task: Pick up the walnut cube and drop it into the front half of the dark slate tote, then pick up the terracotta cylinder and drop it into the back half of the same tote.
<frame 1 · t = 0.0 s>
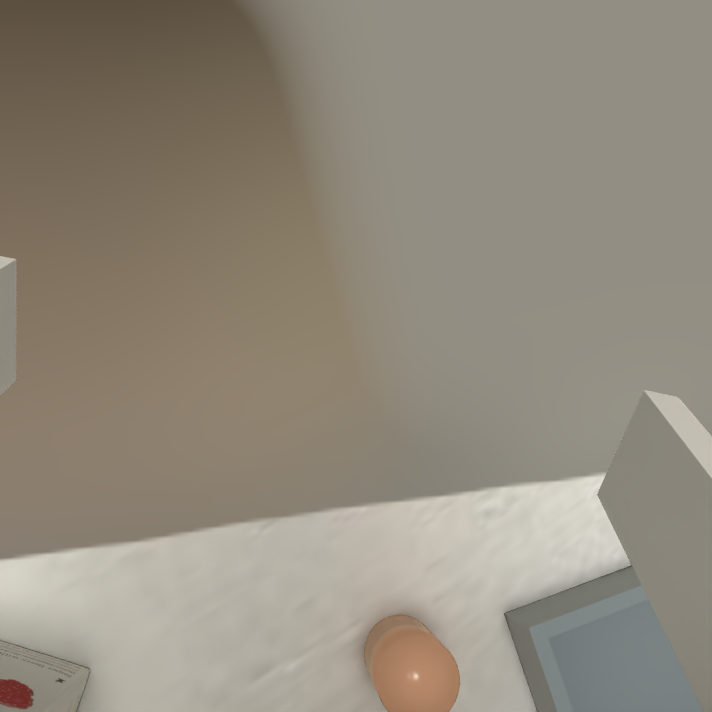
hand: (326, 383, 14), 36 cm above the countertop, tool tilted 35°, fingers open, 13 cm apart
slate tote: (650, 667, 49), on the countertop
terracotta cylinder: (399, 652, 48), on the countertop
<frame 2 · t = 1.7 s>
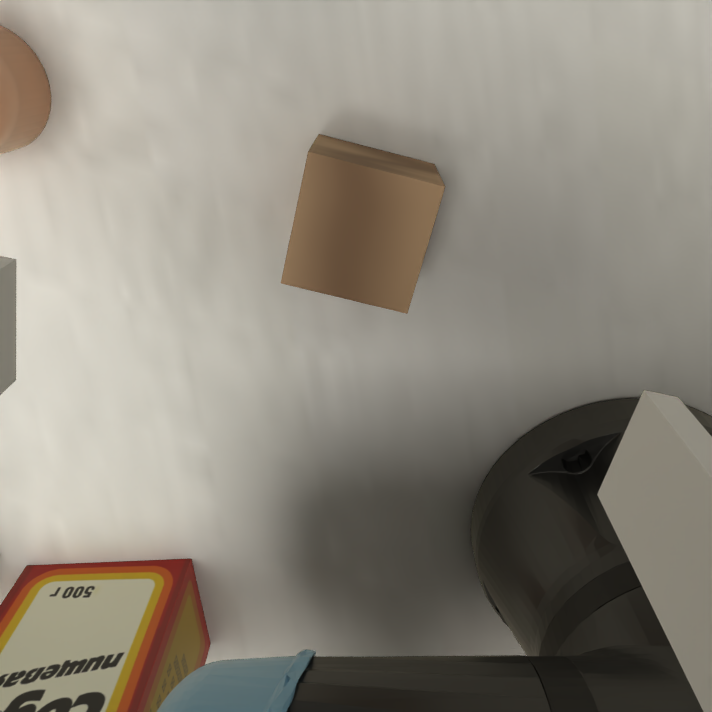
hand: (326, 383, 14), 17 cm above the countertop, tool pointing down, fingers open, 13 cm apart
baking soda box: (122, 603, 40), on the countertop
walnut cube: (362, 206, 30), on the countertop
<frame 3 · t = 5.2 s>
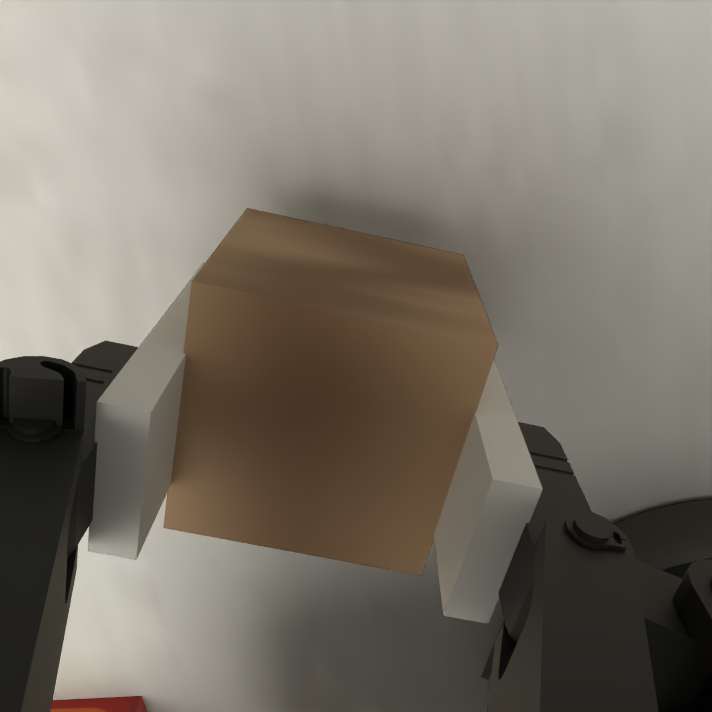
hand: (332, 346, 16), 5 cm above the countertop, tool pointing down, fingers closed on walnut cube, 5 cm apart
walnut cube: (334, 331, 16), point 5 cm above the countertop, touching gripper
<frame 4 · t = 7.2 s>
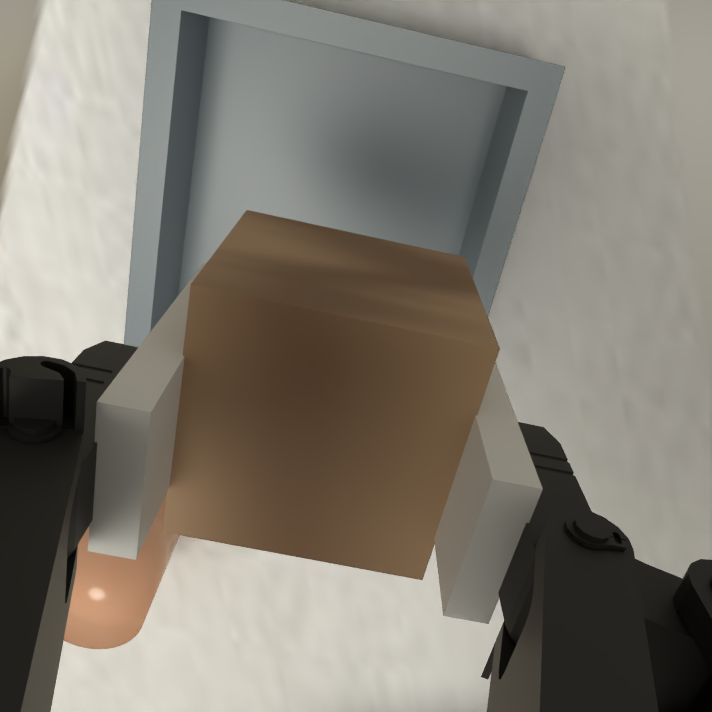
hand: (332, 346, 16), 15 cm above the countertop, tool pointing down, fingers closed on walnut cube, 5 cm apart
walnut cube: (335, 333, 16), point 15 cm above the countertop, touching gripper
slate tote: (323, 241, 31), on the countertop
terracotta cylinder: (138, 513, 37), on the countertop
when the fingers open (6 cm above the countertop, at t = 9.1 s): walnut cube drops 5 cm, resting on slate tote.
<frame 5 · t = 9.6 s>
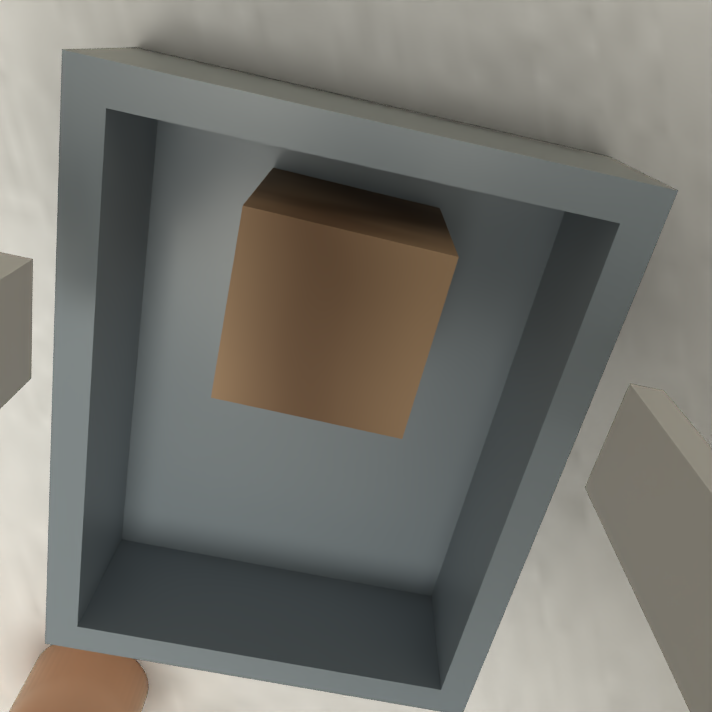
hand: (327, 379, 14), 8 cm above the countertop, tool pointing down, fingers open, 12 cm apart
walnut cube: (338, 268, 21), point 1 cm above the countertop, touching slate tote
slate tote: (319, 375, 23), on the countertop
terracotta cylinder: (91, 680, 30), on the countertop
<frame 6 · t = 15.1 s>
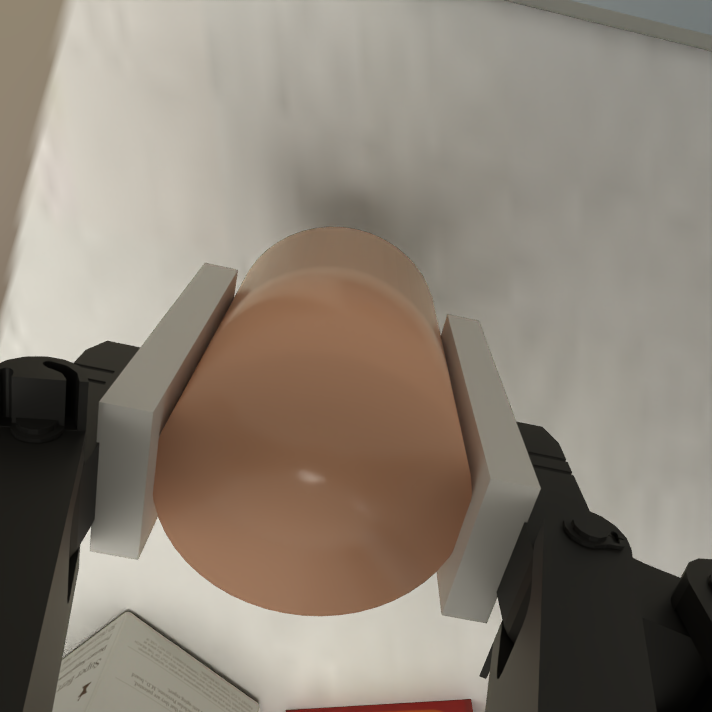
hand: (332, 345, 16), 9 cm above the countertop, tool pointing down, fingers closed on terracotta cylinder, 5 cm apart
supplement box: (140, 692, 35), on the countertop
terracotta cylinder: (335, 325, 17), point 8 cm above the countertop, touching gripper
when the fingers open (6 cm above the countertop, at t = 18.2 s): terracotta cylinder drops 4 cm, resting on slate tote.
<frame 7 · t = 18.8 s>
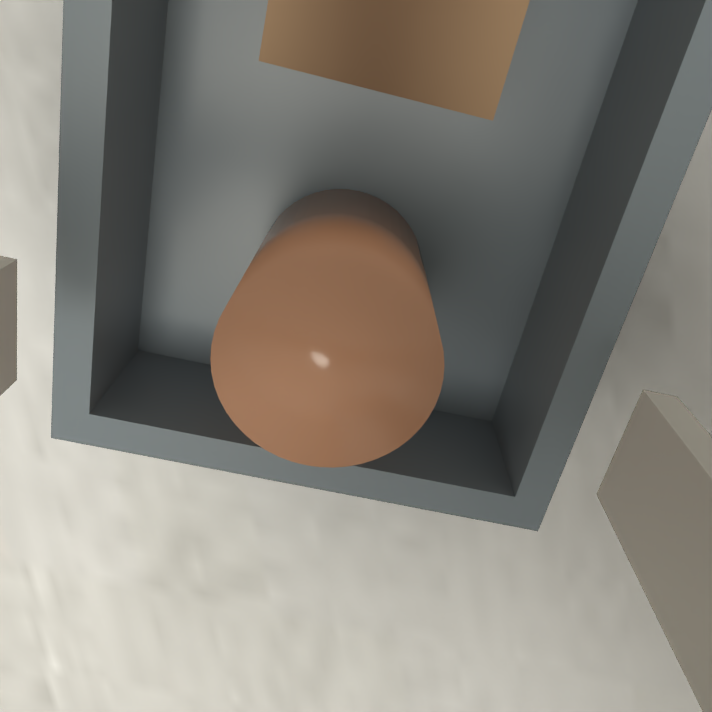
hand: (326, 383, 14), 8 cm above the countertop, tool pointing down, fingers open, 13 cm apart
slate tote: (370, 138, 20), on the countertop
terracotta cylinder: (341, 271, 21), point 1 cm above the countertop, touching slate tote
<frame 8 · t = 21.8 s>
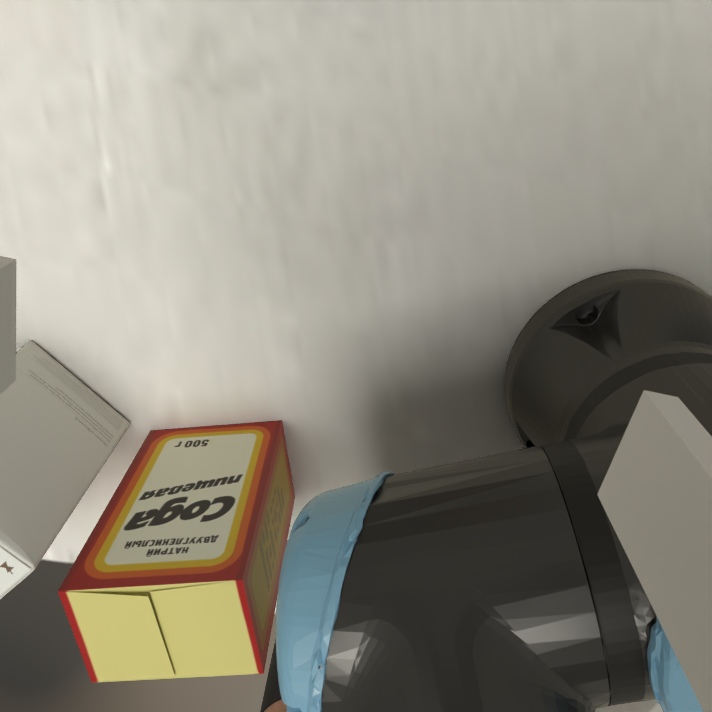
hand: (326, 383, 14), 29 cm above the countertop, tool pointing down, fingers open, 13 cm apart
baking soda box: (224, 462, 50), on the countertop
travel mug: (320, 633, 57), on the countertop
supplement box: (45, 416, 49), on the countertop
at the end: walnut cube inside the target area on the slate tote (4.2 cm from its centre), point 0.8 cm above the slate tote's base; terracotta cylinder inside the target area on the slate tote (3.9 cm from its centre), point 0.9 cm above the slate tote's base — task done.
